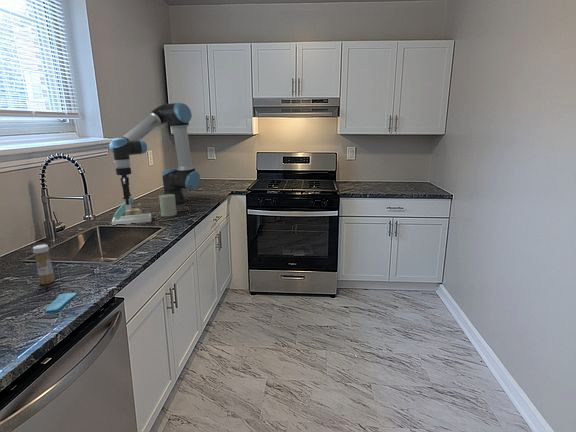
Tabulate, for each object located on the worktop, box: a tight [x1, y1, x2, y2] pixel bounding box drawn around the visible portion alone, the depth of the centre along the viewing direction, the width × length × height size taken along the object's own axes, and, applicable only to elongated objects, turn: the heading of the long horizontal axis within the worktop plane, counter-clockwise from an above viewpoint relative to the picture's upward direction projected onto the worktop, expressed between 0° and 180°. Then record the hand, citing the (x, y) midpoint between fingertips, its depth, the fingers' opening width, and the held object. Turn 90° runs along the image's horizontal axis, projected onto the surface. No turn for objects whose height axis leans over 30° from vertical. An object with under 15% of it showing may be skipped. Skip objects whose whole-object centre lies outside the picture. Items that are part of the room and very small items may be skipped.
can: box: [158, 194, 178, 217], centre depth 220 cm, size 9×9×12 cm
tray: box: [111, 213, 152, 226], centre depth 208 cm, size 20×10×2 cm, turn 110°
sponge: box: [44, 292, 78, 314], centre depth 116 cm, size 2×12×6 cm
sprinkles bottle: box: [32, 244, 56, 285], centre depth 130 cm, size 5×5×13 cm
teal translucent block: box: [124, 203, 143, 216], centre depth 216 cm, size 9×4×8 cm, turn 110°
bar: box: [113, 196, 135, 219], centre depth 205 cm, size 13×5×3 cm
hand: (128, 209), depth 206 cm, fingers closed on bar, 5 cm apart
